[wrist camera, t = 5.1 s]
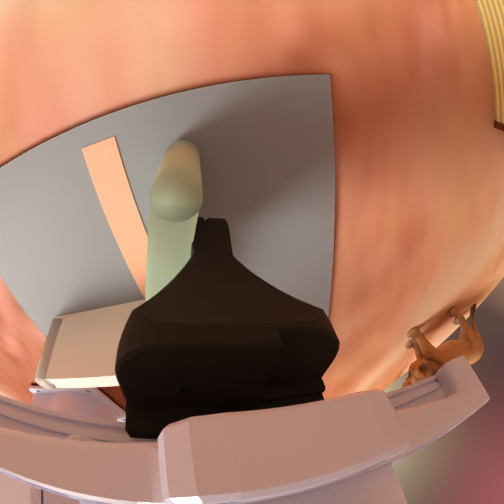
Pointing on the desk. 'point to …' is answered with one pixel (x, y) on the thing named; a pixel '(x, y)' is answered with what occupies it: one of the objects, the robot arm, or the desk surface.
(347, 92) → the desk surface
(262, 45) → the desk surface
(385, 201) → the desk surface
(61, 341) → the fixed fence section
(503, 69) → the hardcover book
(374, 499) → the robot arm
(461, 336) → the lion figurine
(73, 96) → the desk surface
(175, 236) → the fence panel
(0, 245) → the card
